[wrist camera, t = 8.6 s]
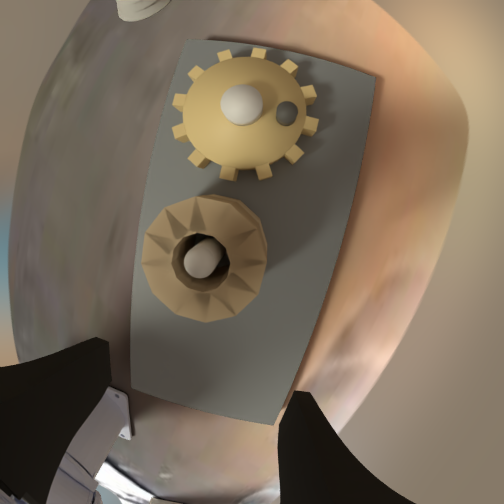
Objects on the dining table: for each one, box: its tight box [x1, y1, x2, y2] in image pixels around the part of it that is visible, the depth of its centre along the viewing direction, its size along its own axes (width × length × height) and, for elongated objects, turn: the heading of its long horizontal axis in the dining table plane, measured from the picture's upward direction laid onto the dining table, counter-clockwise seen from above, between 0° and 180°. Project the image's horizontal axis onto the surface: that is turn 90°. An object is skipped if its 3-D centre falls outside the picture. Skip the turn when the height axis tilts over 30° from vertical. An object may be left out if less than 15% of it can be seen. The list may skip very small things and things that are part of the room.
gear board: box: [130, 39, 376, 425], centre depth 14 cm, size 12×26×6 cm, turn 167°
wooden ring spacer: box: [141, 194, 267, 323], centre depth 14 cm, size 6×6×4 cm
